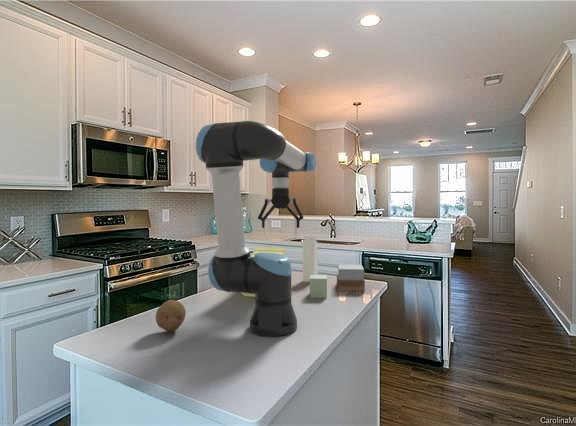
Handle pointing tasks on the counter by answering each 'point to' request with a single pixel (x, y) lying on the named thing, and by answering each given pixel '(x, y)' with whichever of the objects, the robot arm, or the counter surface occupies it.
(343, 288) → the tower base
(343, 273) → the tower top
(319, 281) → the sage block
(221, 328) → the counter surface
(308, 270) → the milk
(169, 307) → the potato
